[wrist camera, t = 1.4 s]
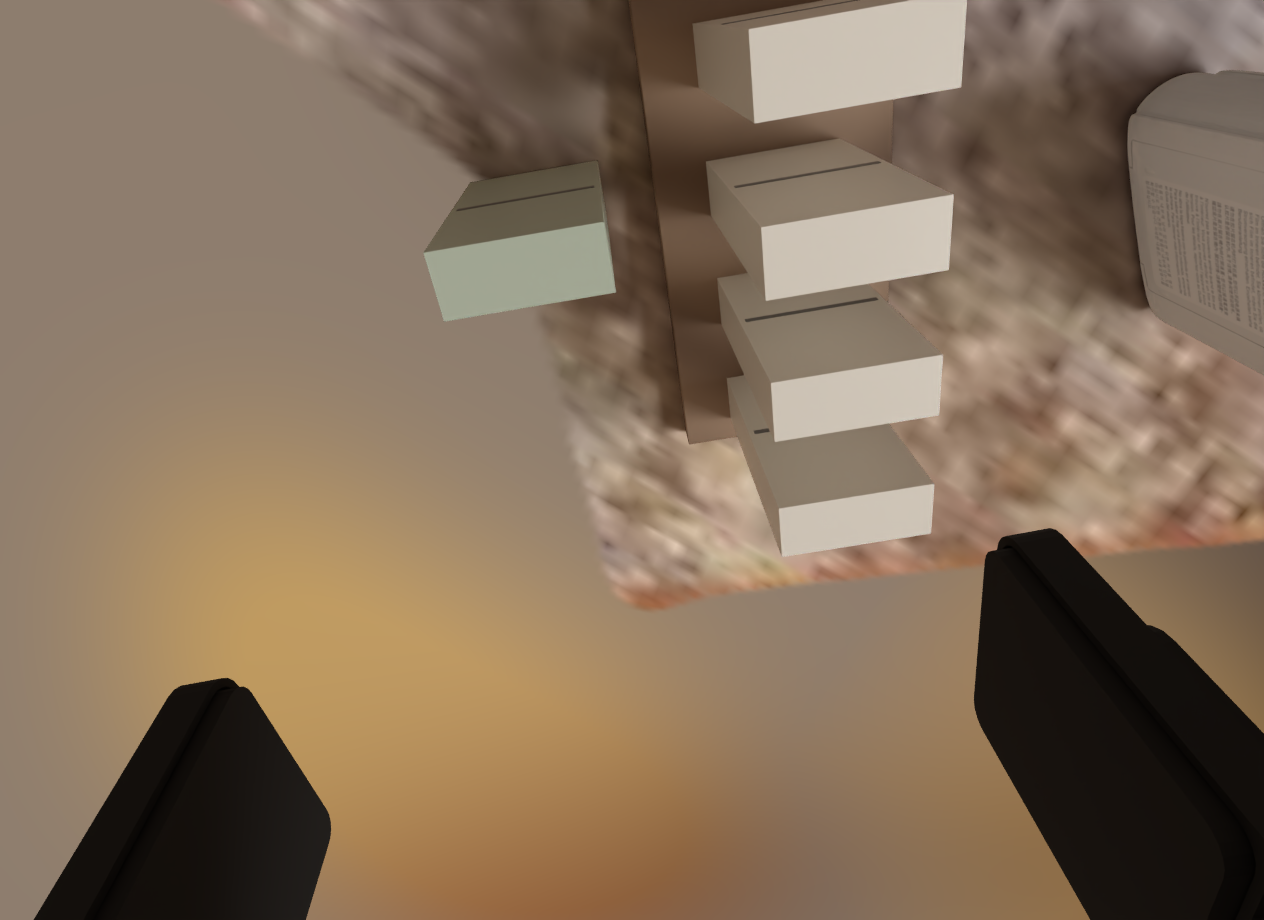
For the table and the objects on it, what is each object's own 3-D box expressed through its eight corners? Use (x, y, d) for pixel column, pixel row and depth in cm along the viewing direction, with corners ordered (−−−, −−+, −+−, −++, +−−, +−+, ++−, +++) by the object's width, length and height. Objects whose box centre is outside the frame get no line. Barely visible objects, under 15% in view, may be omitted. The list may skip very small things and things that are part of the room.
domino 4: (726, 377, 33) (778, 508, 24) (840, 358, 32) (934, 483, 24) (730, 418, 34) (781, 557, 25) (841, 400, 33) (931, 533, 25)
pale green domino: (470, 181, 29) (423, 251, 20) (597, 159, 29) (603, 221, 20) (483, 234, 30) (444, 322, 21) (606, 213, 30) (615, 293, 21)
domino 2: (705, 160, 28) (760, 226, 19) (838, 137, 28) (954, 193, 19) (710, 216, 29) (766, 301, 20) (839, 194, 29) (948, 270, 20)
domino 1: (692, 22, 26) (748, 28, 17) (837, -4, 25) (967, -11, 17) (698, 88, 27) (754, 124, 18) (838, 63, 26) (961, 88, 18)
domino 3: (717, 277, 30) (770, 382, 22) (839, 256, 30) (943, 354, 22) (721, 325, 31) (774, 442, 23) (840, 304, 31) (938, 415, 23)
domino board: (600, -204, 23) (602, -214, 22) (888, -258, 23) (902, -271, 22) (686, 431, 35) (689, 444, 34) (876, 400, 35) (885, 412, 34)
